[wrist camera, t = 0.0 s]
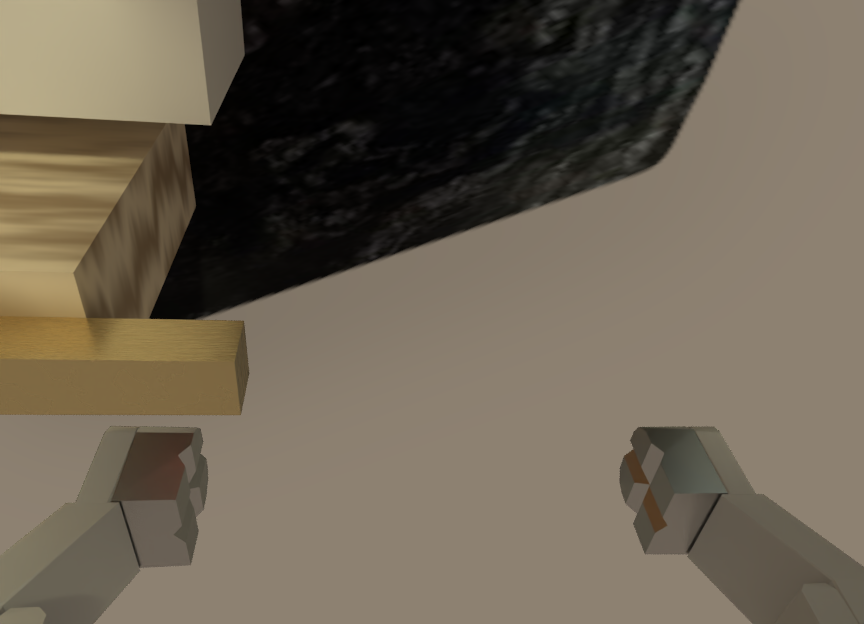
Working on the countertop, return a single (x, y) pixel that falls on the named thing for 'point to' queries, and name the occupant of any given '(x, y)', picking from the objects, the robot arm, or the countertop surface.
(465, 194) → the countertop surface
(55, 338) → the tan wooden bar
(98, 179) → the birch stand
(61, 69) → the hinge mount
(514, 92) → the countertop surface
